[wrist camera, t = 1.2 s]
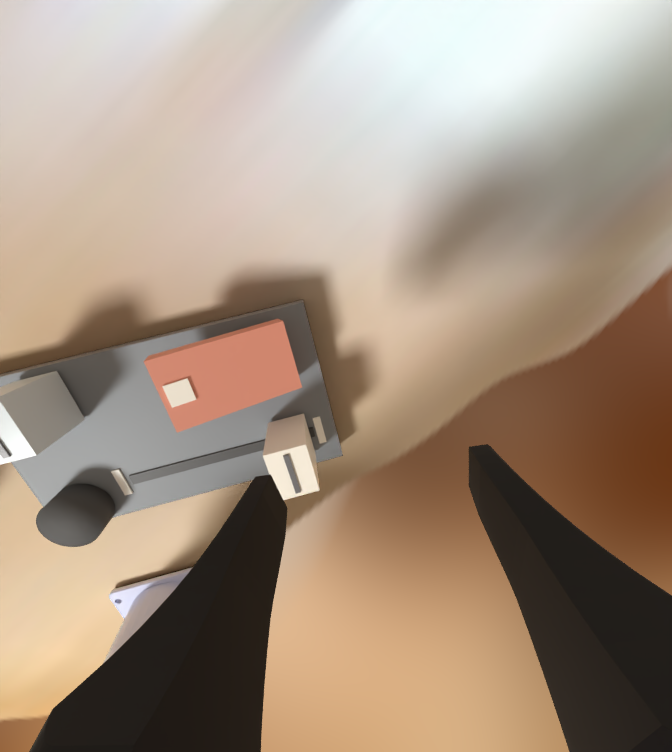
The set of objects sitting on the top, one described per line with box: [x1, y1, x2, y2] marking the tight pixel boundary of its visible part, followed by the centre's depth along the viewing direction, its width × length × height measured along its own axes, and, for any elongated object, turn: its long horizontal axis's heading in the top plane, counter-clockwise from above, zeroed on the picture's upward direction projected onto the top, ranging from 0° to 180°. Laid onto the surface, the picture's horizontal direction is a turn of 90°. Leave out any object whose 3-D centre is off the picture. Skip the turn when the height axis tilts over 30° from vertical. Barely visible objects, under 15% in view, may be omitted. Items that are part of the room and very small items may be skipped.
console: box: [0, 300, 343, 518], centre depth 20 cm, size 11×20×2 cm, turn 103°
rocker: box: [144, 319, 302, 433], centre depth 17 cm, size 4×7×2 cm, turn 103°
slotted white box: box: [0, 371, 85, 465], centre depth 16 cm, size 3×2×4 cm
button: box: [36, 484, 115, 547], centre depth 20 cm, size 4×4×2 cm
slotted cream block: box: [263, 413, 320, 500], centre depth 19 cm, size 3×2×4 cm
